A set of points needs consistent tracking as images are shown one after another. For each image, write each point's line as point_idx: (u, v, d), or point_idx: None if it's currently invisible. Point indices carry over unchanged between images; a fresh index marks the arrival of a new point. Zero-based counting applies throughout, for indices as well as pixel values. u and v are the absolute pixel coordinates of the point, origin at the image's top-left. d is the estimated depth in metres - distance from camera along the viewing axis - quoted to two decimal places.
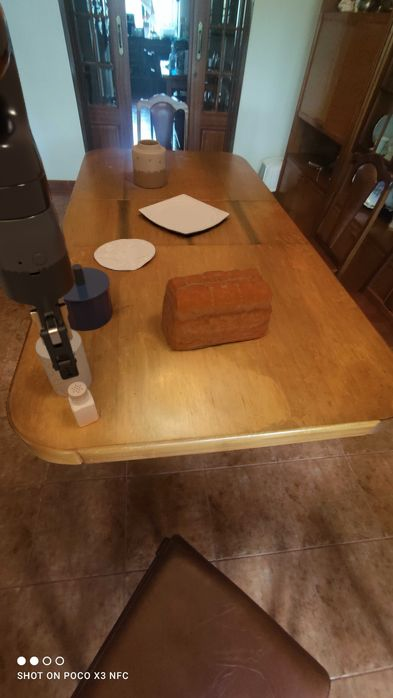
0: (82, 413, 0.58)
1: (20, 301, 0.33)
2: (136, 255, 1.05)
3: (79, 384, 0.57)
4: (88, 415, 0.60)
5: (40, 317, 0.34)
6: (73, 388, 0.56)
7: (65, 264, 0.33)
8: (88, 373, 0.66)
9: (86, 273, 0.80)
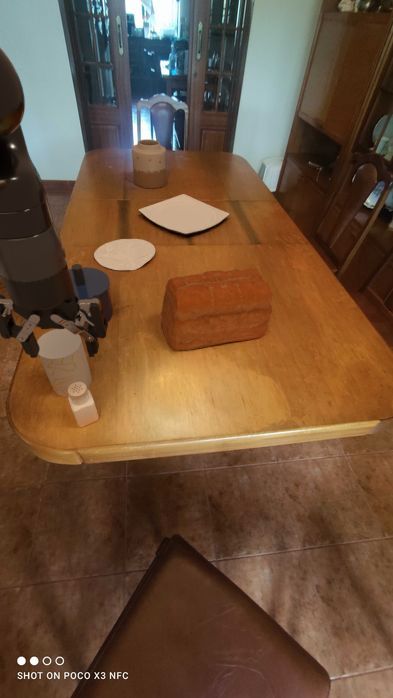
0: (82, 413, 0.58)
1: (62, 300, 0.39)
2: (136, 255, 1.05)
3: (79, 384, 0.57)
4: (88, 415, 0.60)
5: (74, 305, 0.42)
6: (73, 388, 0.56)
7: None
8: (88, 373, 0.66)
9: (86, 273, 0.80)
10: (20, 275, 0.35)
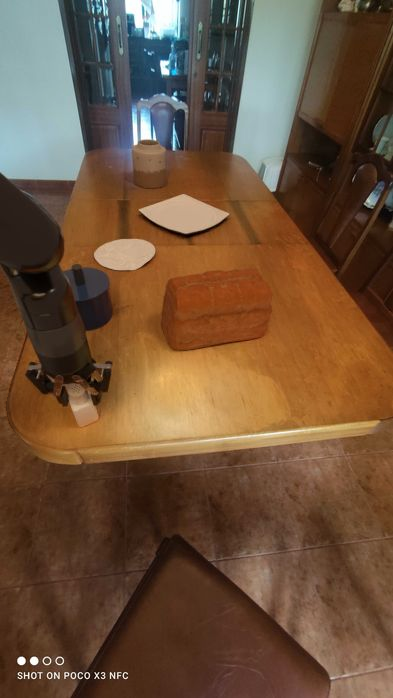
0: (82, 413, 0.58)
1: (82, 366, 0.49)
2: (136, 255, 1.05)
3: (79, 384, 0.57)
4: (88, 415, 0.60)
5: (91, 367, 0.51)
6: (73, 388, 0.56)
7: None
8: None
9: (86, 273, 0.80)
10: (52, 353, 0.44)
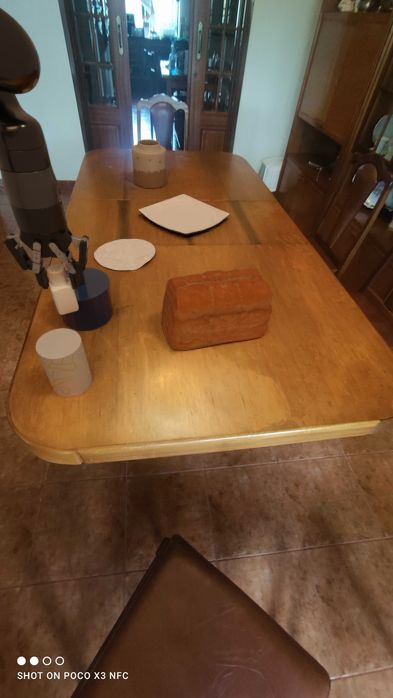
0: (61, 296, 0.61)
1: (58, 229, 0.51)
2: (136, 255, 1.05)
3: (58, 265, 0.59)
4: (68, 301, 0.62)
5: (67, 236, 0.54)
6: (52, 268, 0.59)
7: None
8: (88, 373, 0.66)
9: (86, 273, 0.80)
10: (26, 203, 0.47)
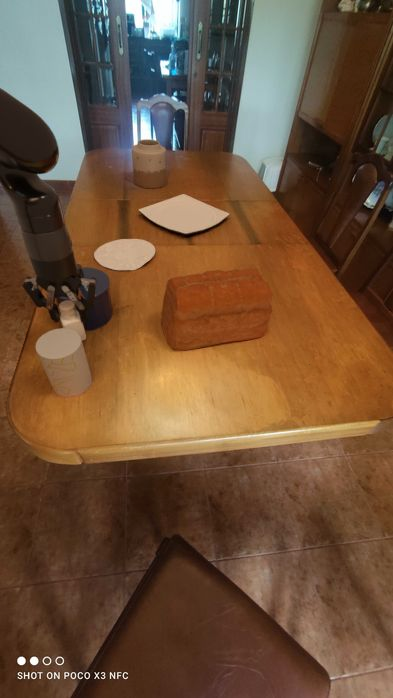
0: (71, 329, 0.68)
1: (70, 275, 0.58)
2: (136, 255, 1.05)
3: (69, 302, 0.67)
4: (77, 332, 0.70)
5: (78, 280, 0.61)
6: (63, 304, 0.66)
7: None
8: (88, 373, 0.66)
9: (86, 273, 0.80)
10: (43, 257, 0.54)
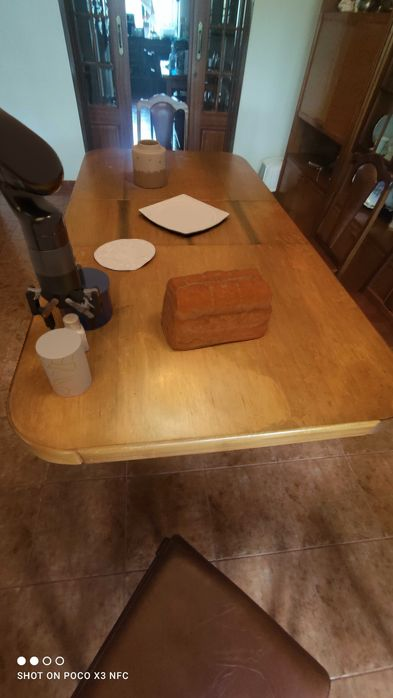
0: None
1: (73, 288, 0.61)
2: (136, 255, 1.05)
3: (72, 315, 0.69)
4: None
5: (81, 292, 0.63)
6: (67, 317, 0.69)
7: None
8: (88, 373, 0.66)
9: (86, 273, 0.80)
10: (48, 272, 0.56)
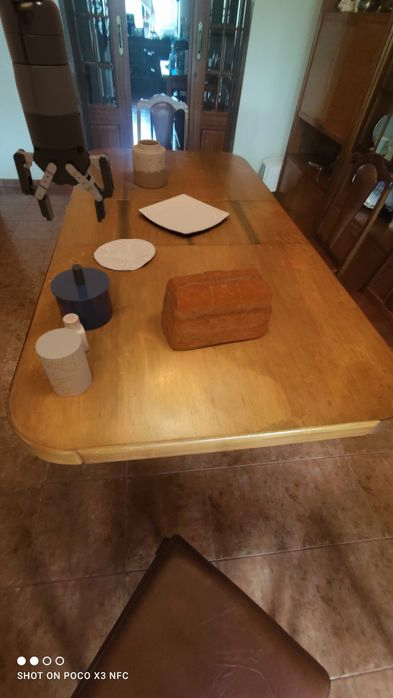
0: None
1: (76, 145, 0.46)
2: (136, 255, 1.05)
3: (72, 315, 0.69)
4: None
5: (86, 157, 0.48)
6: (67, 317, 0.69)
7: None
8: (88, 373, 0.66)
9: (86, 273, 0.80)
10: (42, 107, 0.41)
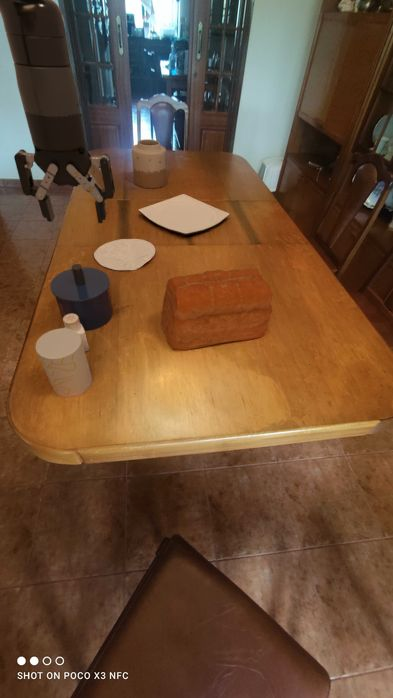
0: None
1: (77, 146, 0.46)
2: (136, 255, 1.05)
3: (72, 315, 0.69)
4: None
5: (87, 158, 0.48)
6: (67, 317, 0.69)
7: None
8: (88, 373, 0.66)
9: (86, 273, 0.80)
10: (44, 108, 0.41)
